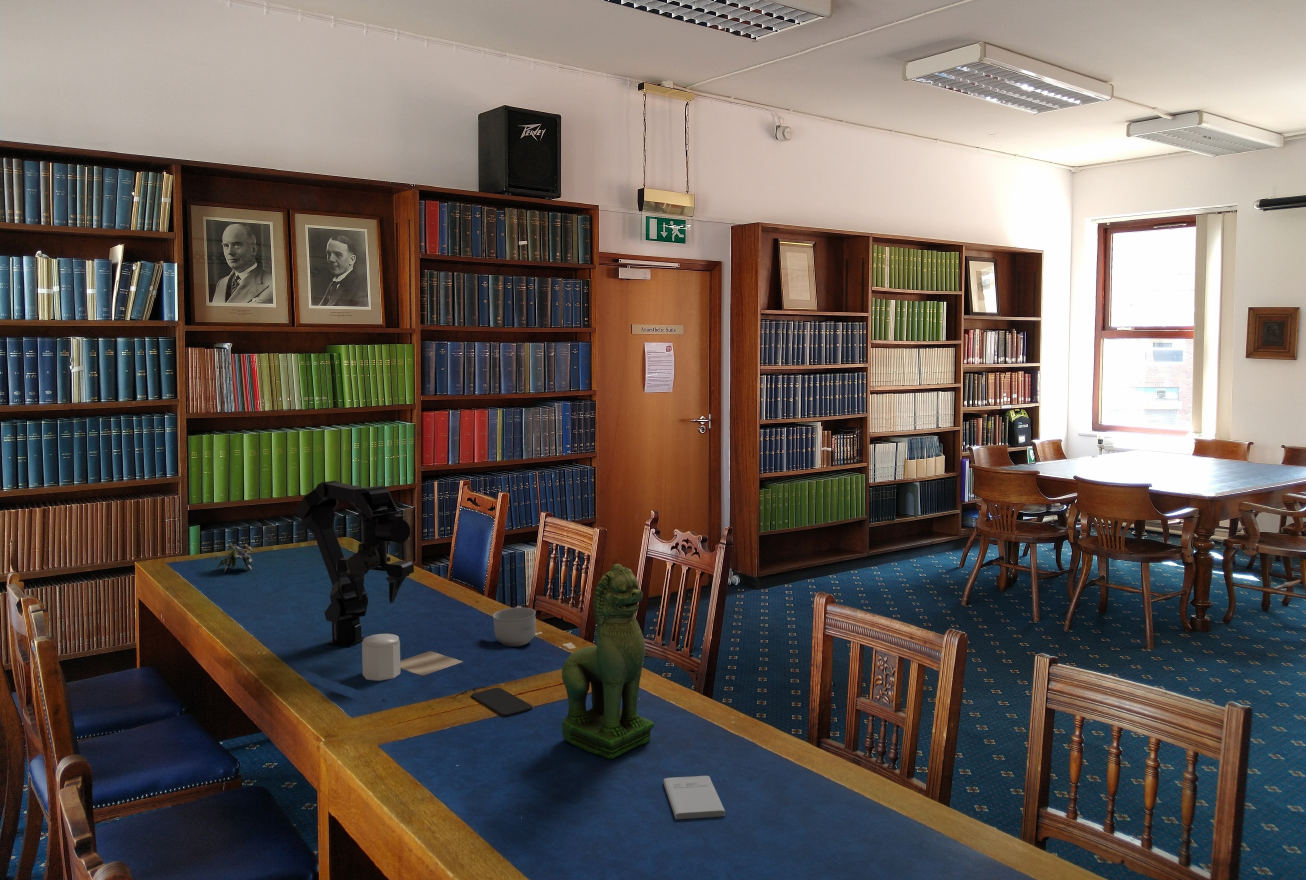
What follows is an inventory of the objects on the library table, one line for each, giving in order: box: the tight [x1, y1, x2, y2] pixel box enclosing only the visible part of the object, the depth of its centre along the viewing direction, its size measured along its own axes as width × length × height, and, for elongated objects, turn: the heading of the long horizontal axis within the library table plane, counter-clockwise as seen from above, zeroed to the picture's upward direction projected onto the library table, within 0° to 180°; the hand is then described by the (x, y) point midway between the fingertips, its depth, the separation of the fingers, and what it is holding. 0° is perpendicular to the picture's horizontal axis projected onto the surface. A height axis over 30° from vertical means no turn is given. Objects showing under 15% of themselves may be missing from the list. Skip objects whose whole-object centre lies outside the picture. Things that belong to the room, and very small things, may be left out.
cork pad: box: [400, 650, 464, 677], centre depth 216 cm, size 12×12×2 cm
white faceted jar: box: [361, 633, 401, 682], centre depth 208 cm, size 8×8×10 cm
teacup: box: [492, 605, 537, 647], centre depth 237 cm, size 14×11×8 cm
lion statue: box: [561, 563, 655, 760], centre depth 177 cm, size 14×17×35 cm
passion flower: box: [214, 542, 255, 573], centre depth 307 cm, size 11×11×12 cm
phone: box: [470, 687, 534, 718], centre depth 197 cm, size 7×1×15 cm
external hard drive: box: [663, 775, 726, 820], centre depth 155 cm, size 2×8×12 cm
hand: (375, 600), depth 227 cm, fingers open, 9 cm apart
